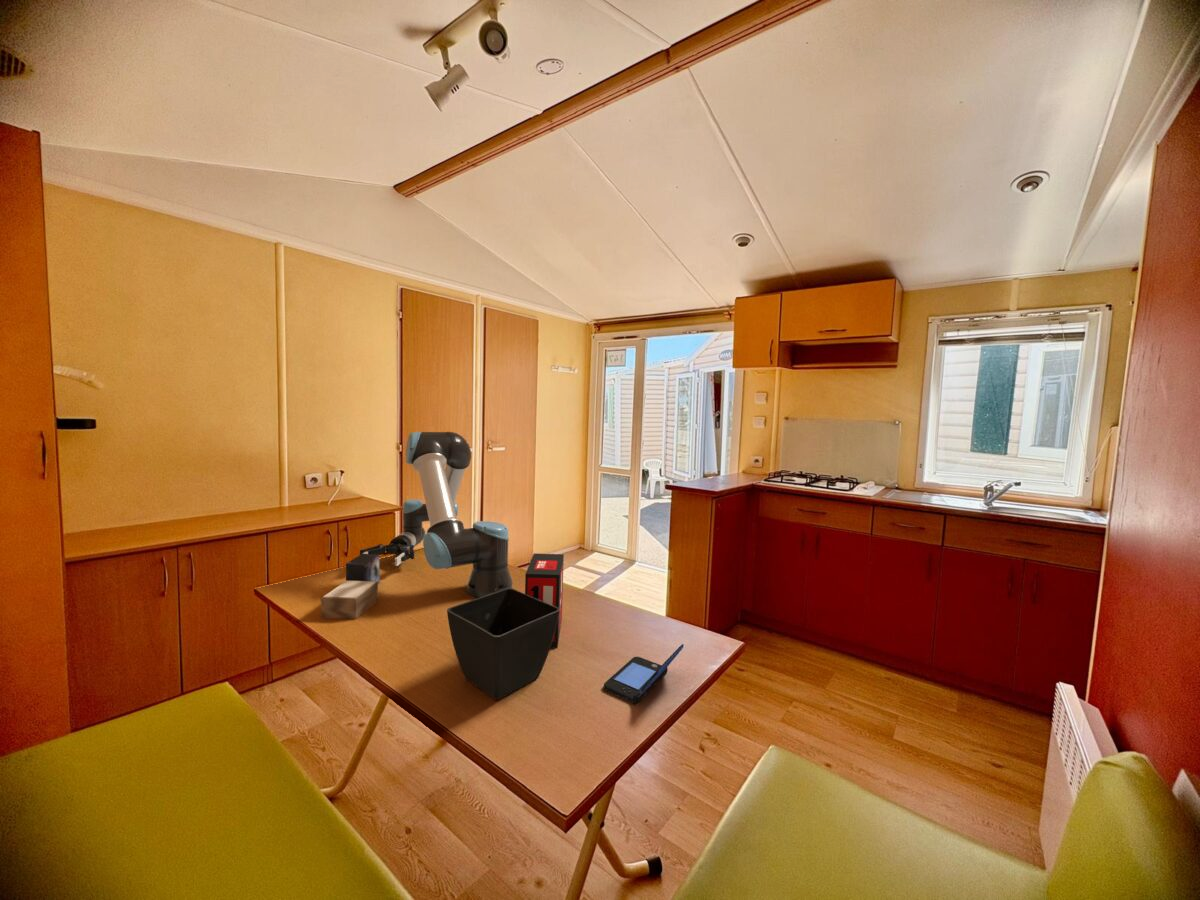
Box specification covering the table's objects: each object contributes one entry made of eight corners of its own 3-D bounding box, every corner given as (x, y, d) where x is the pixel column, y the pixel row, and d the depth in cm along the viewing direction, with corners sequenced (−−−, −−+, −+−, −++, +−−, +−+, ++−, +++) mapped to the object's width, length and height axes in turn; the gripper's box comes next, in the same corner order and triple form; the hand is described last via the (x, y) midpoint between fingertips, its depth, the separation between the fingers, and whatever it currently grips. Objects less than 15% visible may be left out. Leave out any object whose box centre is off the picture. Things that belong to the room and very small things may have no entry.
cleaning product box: (532, 618, 137) (533, 553, 135) (561, 618, 137) (563, 554, 135) (523, 647, 121) (525, 573, 119) (557, 647, 121) (559, 574, 119)
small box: (364, 595, 148) (364, 564, 147) (344, 594, 148) (344, 563, 147) (380, 583, 159) (380, 553, 158) (362, 582, 159) (361, 553, 158)
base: (377, 600, 145) (377, 581, 145) (356, 619, 132) (355, 598, 132) (346, 599, 145) (346, 579, 145) (321, 617, 132) (321, 597, 132)
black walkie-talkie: (635, 660, 117) (636, 625, 116) (683, 679, 109) (685, 642, 108) (601, 690, 104) (602, 652, 103) (653, 714, 96) (655, 673, 95)
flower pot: (508, 647, 120) (509, 585, 119) (560, 676, 108) (562, 607, 107) (444, 678, 106) (444, 608, 104) (495, 715, 94) (496, 637, 92)
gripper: (433, 554, 184) (411, 573, 163) (371, 551, 184) (342, 570, 163) (433, 535, 183) (411, 552, 162) (371, 533, 183) (341, 550, 162)
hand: (376, 561), depth 162 cm, fingers open, 13 cm apart
